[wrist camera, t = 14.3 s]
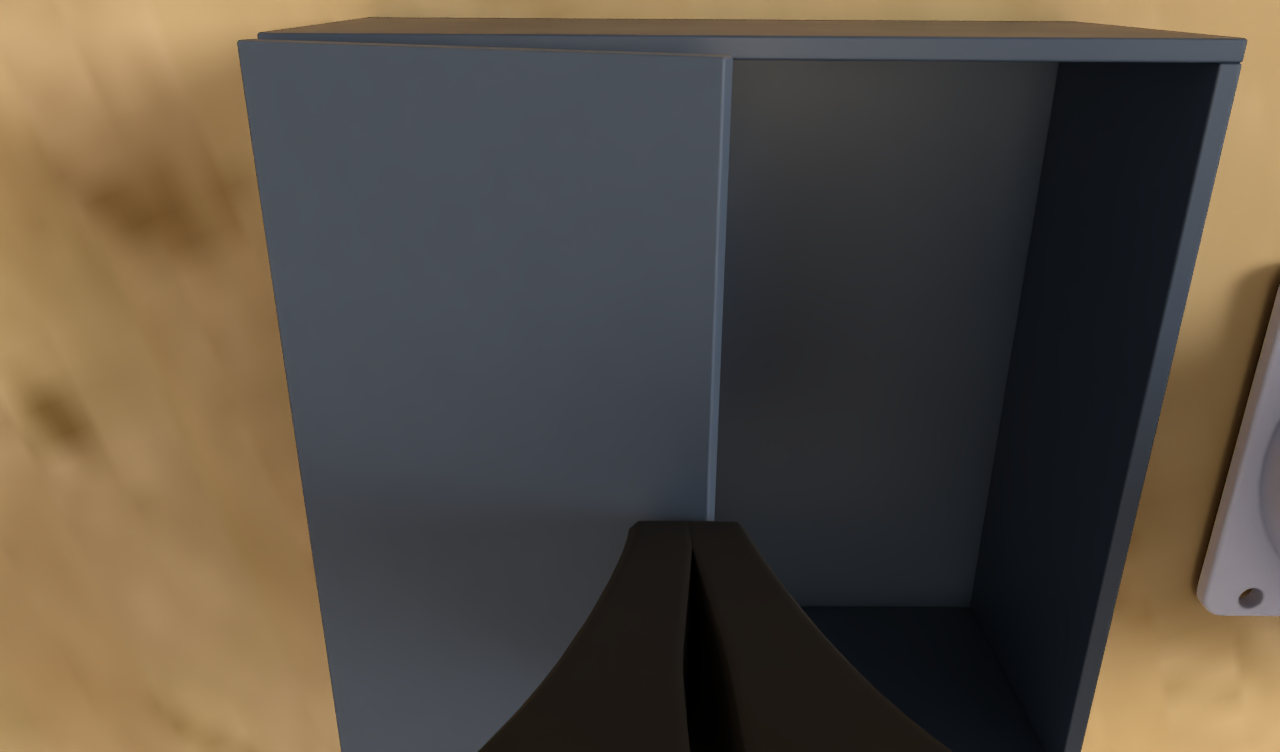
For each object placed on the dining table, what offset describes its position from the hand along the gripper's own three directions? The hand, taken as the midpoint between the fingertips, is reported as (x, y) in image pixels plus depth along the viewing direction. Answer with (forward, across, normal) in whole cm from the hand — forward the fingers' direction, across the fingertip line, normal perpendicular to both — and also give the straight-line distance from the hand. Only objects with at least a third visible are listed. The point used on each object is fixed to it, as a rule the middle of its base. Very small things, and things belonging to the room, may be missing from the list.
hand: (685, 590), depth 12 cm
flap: (+1, +3, 0) cm, 3 cm away
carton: (+8, -1, 0) cm, 8 cm away
